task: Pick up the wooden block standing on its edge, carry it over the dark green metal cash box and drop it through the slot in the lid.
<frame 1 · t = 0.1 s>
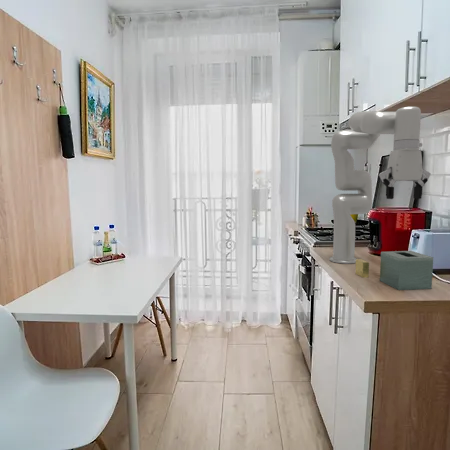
hand: (403, 198, 117), 31 cm above the table, tool pointing down, fingers open, 9 cm apart
coin box: (404, 284, 125), on the table
wooden block: (361, 275, 138), on the table
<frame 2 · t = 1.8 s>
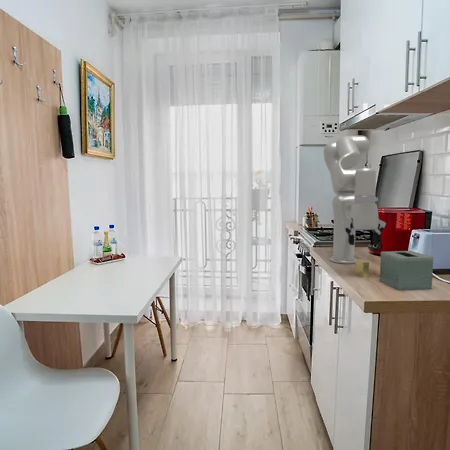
hand: (363, 244, 136), 13 cm above the table, tool pointing down, fingers open, 9 cm apart
nothing on the table moved.
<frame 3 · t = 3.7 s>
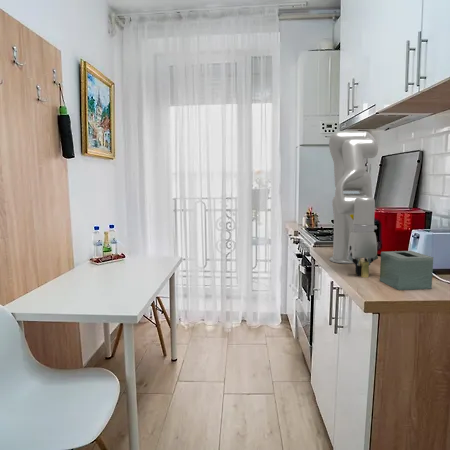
hand: (361, 274, 138), 0 cm above the table, tool pointing down, fingers closed on wooden block, 2 cm apart
wooden block: (361, 275, 138), on the table, touching gripper
everything else where it was.
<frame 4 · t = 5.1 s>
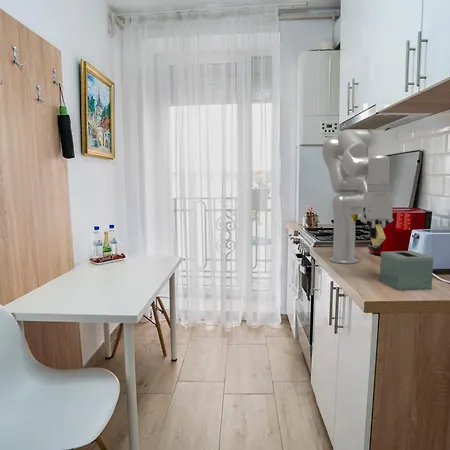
hand: (376, 237, 132), 16 cm above the table, tool pointing down, fingers closed on wooden block
wooden block: (379, 242, 130), point 14 cm above the table, tilted 39°, touching gripper
everything else where it was.
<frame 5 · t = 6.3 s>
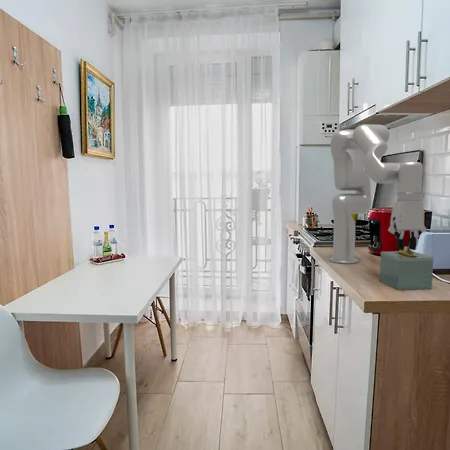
hand: (406, 249, 124), 13 cm above the table, tool pointing down, fingers open, 3 cm apart
wooden block: (410, 262, 122), point 9 cm above the table, tilted 69°
everything else where it was.
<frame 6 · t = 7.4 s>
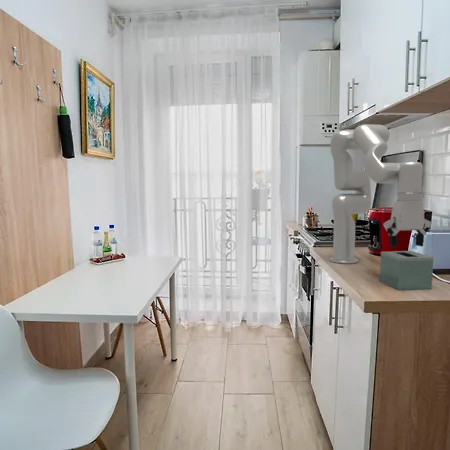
hand: (406, 246, 124), 14 cm above the table, tool pointing down, fingers open, 9 cm apart
wooden block: (412, 277, 121), point 4 cm above the table, tilted 90°, touching coin box
everything else where it was.
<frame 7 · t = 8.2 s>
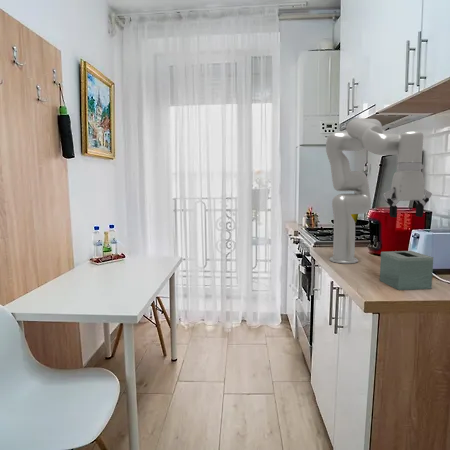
hand: (406, 216, 124), 24 cm above the table, tool pointing down, fingers open, 9 cm apart
nothing on the table moved.
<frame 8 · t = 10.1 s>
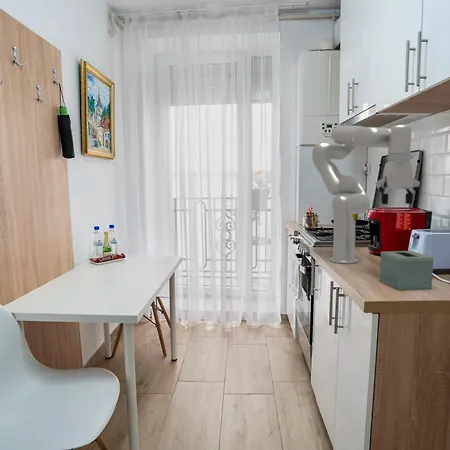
hand: (396, 203, 134), 28 cm above the table, tool pointing down, fingers open, 9 cm apart
nothing on the table moved.
at the end: wooden block inside the target area on the coin box (4.3 cm from its centre), point 3.8 cm above the coin box's base; the gripper is holding nothing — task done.
